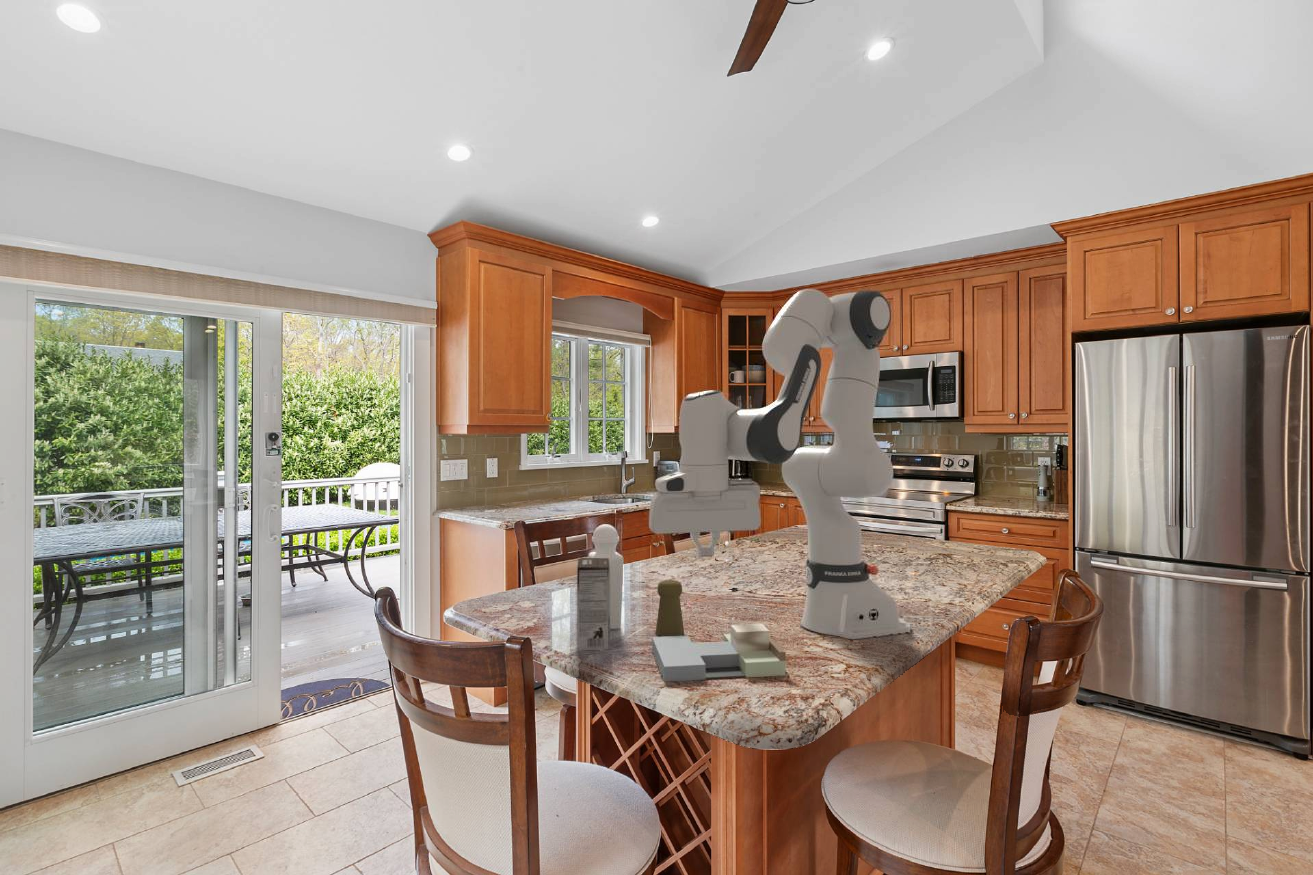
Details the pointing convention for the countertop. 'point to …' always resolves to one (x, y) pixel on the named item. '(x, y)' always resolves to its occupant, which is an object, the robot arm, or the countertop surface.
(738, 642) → the cream block
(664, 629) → the cork
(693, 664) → the track
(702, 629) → the countertop surface
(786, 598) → the countertop surface
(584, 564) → the coffee box
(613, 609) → the white peg figure
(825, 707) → the countertop surface
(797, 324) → the robot arm
